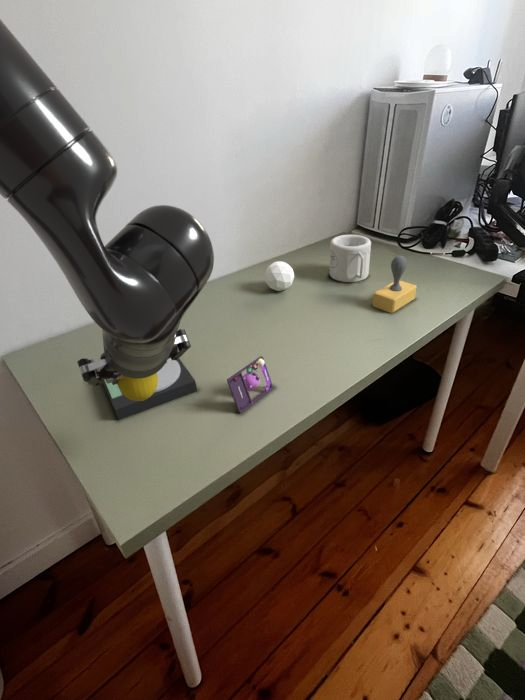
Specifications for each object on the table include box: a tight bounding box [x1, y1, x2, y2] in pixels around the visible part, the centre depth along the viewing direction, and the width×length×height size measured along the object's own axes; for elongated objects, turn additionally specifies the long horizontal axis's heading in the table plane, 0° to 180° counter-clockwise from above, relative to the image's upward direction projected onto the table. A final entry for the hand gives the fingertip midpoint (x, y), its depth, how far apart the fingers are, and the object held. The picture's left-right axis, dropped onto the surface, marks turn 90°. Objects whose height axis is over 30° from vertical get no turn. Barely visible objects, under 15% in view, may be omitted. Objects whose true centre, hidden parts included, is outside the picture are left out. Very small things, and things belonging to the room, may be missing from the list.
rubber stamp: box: [372, 255, 418, 314], centre depth 103 cm, size 10×6×12 cm, turn 133°
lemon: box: [118, 373, 158, 401], centre depth 62 cm, size 6×6×8 cm
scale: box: [102, 358, 198, 421], centre depth 83 cm, size 15×13×3 cm
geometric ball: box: [264, 260, 295, 292], centre depth 114 cm, size 8×8×8 cm
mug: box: [329, 234, 372, 283], centre depth 118 cm, size 14×11×10 cm
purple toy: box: [226, 355, 274, 414], centre depth 79 cm, size 7×5×9 cm
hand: (133, 370), depth 63 cm, fingers closed on lemon, 5 cm apart
